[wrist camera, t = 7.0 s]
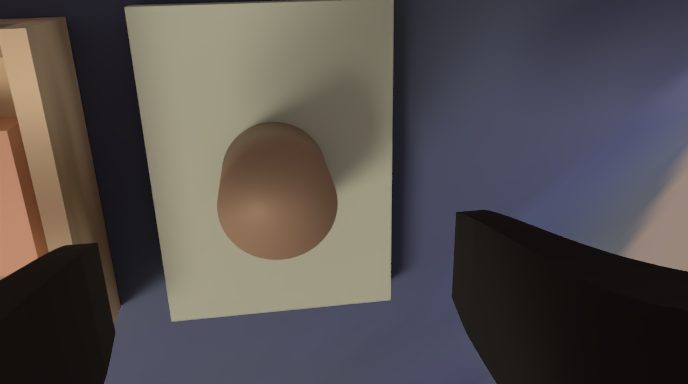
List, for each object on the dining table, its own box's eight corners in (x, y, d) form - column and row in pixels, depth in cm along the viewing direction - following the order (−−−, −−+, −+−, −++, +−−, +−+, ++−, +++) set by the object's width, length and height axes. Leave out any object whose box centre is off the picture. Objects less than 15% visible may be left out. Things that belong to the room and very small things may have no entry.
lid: (382, 280, 20) (410, 347, 17) (176, 299, 19) (159, 375, 16) (383, -4, 17) (419, 5, 13) (133, 3, 16) (99, 15, 12)
